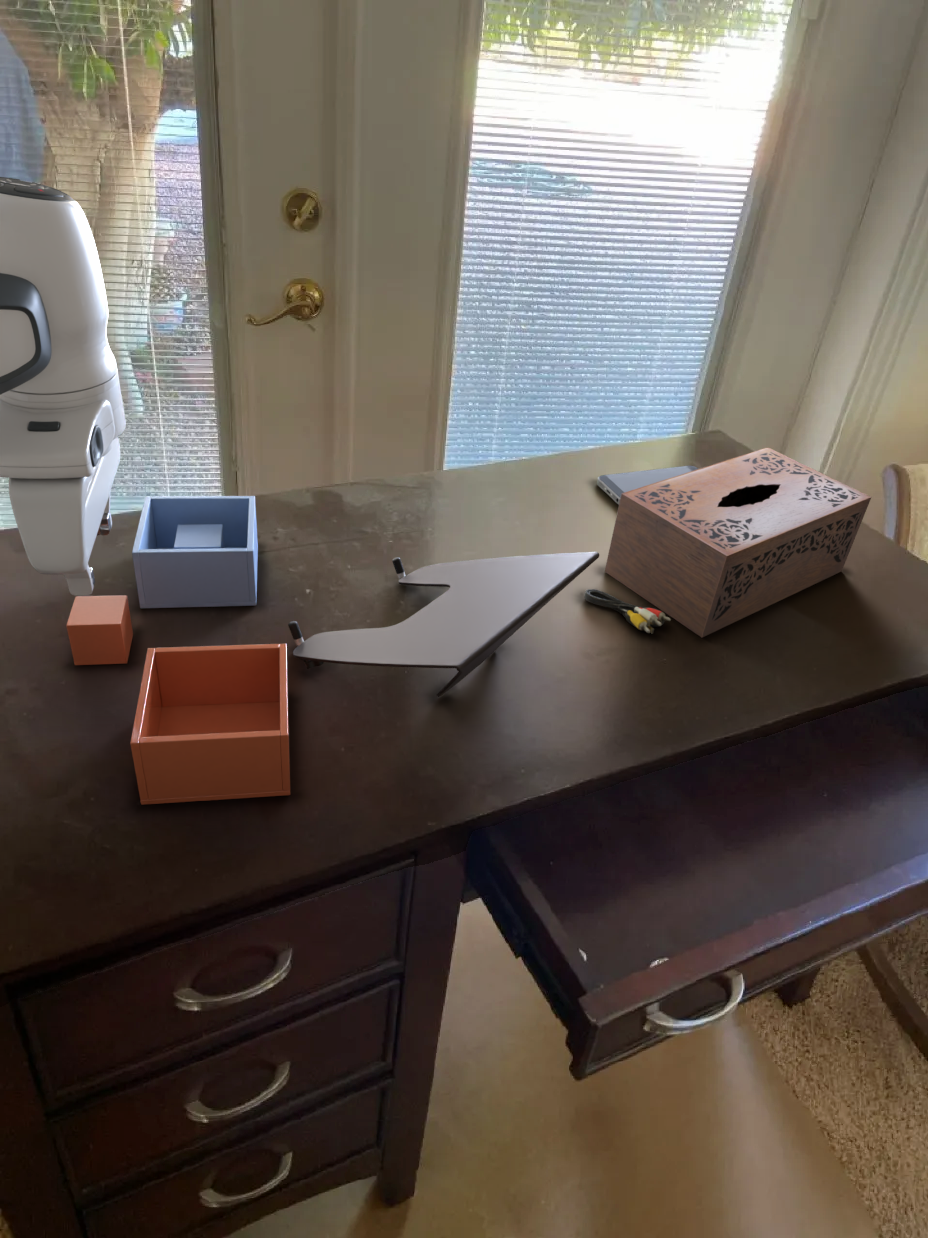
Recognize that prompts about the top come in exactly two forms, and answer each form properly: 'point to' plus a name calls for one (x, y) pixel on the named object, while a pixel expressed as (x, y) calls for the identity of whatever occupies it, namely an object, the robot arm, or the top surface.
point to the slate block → (199, 536)
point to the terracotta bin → (212, 724)
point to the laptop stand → (452, 614)
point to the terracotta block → (100, 630)
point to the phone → (637, 480)
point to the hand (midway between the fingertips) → (92, 559)
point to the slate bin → (196, 553)
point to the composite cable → (629, 610)
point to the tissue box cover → (733, 537)
